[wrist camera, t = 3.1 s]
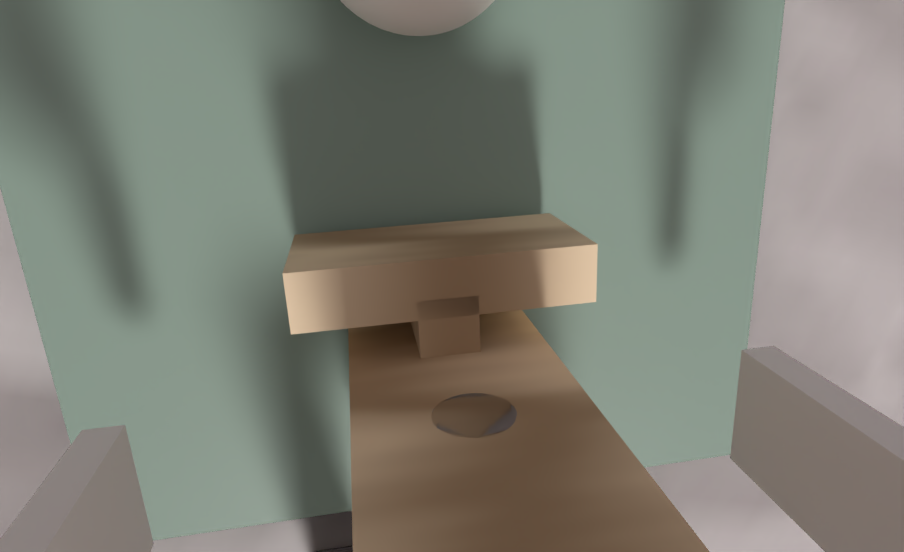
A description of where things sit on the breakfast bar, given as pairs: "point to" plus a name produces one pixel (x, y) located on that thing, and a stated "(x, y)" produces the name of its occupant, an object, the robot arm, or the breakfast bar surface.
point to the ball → (417, 14)
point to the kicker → (473, 392)
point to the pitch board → (370, 212)
